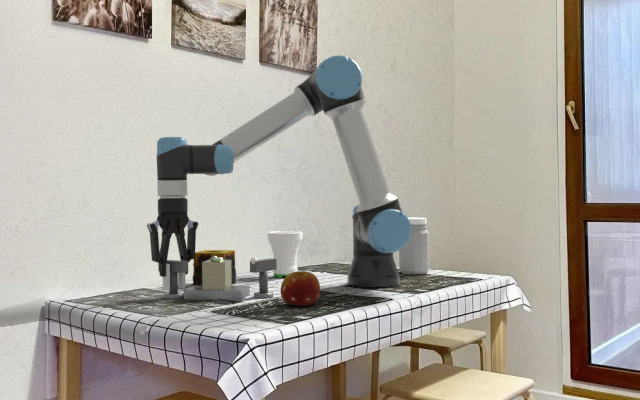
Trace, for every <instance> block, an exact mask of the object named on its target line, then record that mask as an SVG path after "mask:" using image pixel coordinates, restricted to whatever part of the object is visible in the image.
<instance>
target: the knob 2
mask: <svg viewBox="0 0 640 400" xmlns="http://www.w3.org/2000/svg"><path fill="white" fill-rule="evenodd" d="M273 270H276V259H274V258H271V257H269V258H263V259H258V258H257V257H256V256H255V257H253V256H252V258H250V261H249V273H255V274H257V273H258V281H259V282H258V291H255V292H253V298H255V299H272V298H273V297H274V292H272V291H269V275H268V274H269V273H268V272H269V271H270V272H271V271H273Z"/></svg>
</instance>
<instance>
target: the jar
mask: <svg viewBox="0 0 640 400" xmlns="http://www.w3.org/2000/svg"><path fill="white" fill-rule="evenodd" d="M407 218H408V219H409V221H410V223H411V229H412V231H411V237H410V239H409V241H408V243H407V244H406V245H405V246H404V247H403V248H402V249H401V250H399V251H398V270H399V271H400V273H401V274H402V275H403V274H405V275H425V274H427V273H428V271H429V270H430V232H429V231H428V230H427V228H428V226H426V225H427V224H428V221H427V220H428V219H427V218H426V217H407Z"/></svg>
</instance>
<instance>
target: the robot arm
mask: <svg viewBox="0 0 640 400" xmlns="http://www.w3.org/2000/svg"><path fill="white" fill-rule="evenodd" d="M362 84H363V73H362V70H361V68H360V66H359V64H358V63H357V62H356V61H355V60H353V59H352V58H350V57H348V56H346V55H342V54H341V55H332V56H330V57H328V58H325V59H324V60H322V61H321V62H320V63H319V65H318V66H317V67H316V69H315V70H313V72H312V73H311V74H310V75H309V76H308V77H307V78H306V79H305V80H303V82H302V83H299V84H298V85H297V86H295V87H294V91H293V93H291V94H289V95H288V96H286V97H284V98H283V99H282V100H280V101H278V102H277V103H275V104H273V105H272V106H270V107H269V108H267V109H265V110H264V111H263V112H261V113H259V114H258V115H257V116H255V117H253V118H252V119H250V120H248V121H246V123H244V124H242V125H241V126H239V127H237V128H236V129H235V130H232V132H230V133H228V134H226V135H225V136H224V137H222V138H220V139H219V140H217V141H215V142H214V143H212V144H200V145H199V144H197V145H196V144H188V142H187V139H186V138H185V137H182V136H165V137H164V136H163V137H160V138H158V139H157V142H156V175H157V187H156V188H157V196H158V197H159V198H158V200H157V213H158V214H157V217H156V220H155V221H154V222H151V223H150V222H149V223H147V224H146V227H147V230H148V232H149V242H150V243H149V244H150V253H151V254H150V255H151V261H152V262H154V263H157V264H158V263H159V271H158V272H159V276H160V277H162V289H163V290H165V291H169V290H170V264H166V263H167V260H168V258H169V256H168V255H169V249H170V244H171V243H170V242H171V238H172V235H173V234H174V235H175V238H176V243H177V249H178V254H179V259H180V260H179V261H188V263H190V262H191V260H194V258H195V252H196V245H197V244H196V239H197V230H198V229H197V228H198V226H199V222H198V221H194V220H191V219H190V218H189V216H188V211H189V210H188V209H189V208H188V207H189V206H188V199H187V196H188V175H207V176H211V177H212V176H217V175H224V174H225V175H226V174H227V175H228V174H232V173H233V171H234V163H235V162H237V161H239V160H241V159H242V158H243V157H245V156H246V155H248V154H250V153H251V152H254V151H255V150H256V149H257V148H260V147H261V146H262V145H264V144H266V143H267V142H268V141H270V140H271V139H273V138H275V137H277V136H278V135H280V134H281V133H283V132H284V131H286V130H287V129H289V128H291V127H293V126H294V125H295V124H297V123H299V122H300V121H302V120H303V119H304V118H307V117H308V116H311V117H314V116H316V115H317V114H319V113H321V112H322V111H323V114H324V115H325V116H327V117H328V118H330V119H331V120H332V123H333V126H334V130H335V133H336V135H337V138H338V141H339V144H340V148H341V150H342V153H343V156H344V159H345V162H346V165H347V168H348V172H349V174H350V177H351V180H352V183H353V187H354V191H355V193H356V195H357V198H358V202H359V204H358V205H355V206H354V207H353V209H352V216H351V217H352V244H353V245H352V247H353V248H352V250H353V252H352V255H353V256H352V260H351V264H350V267H349V271H348V273H347V285H349V286H353V287H359V288H362V287H363V288H385V287H387V288H388V287H389V288H390V287H395V286H398V285H400V280H401V279H400V274H399V271H398V270H399V269H398V267H397V265H396V261H395V259H394V253H396V252H399V250H401V249H402V248H403V247H404V246H405V245H406V244H407V243H408V241H409V239H410V237H411V231H412V229H411V223H410V221H409V219H408V218H409V217H408V216H407V215H406V213H404V212H403V211H402V208H401V204H400V201H399V198H398V196H397V195H394V194H392V193H391V192H390V189H389V186H388V183H387V180H386V177H385V173H384V170H383V168H382V165H381V161H380V158H379V155H378V152H377V150H376V146H375V142H374V141H373V137H372V134H371V131H370V128H369V125H368V122H367V119H366V116H365V112H364V109H363V108H364V105H365V104H366V103H365V102H366V101H367V100H366V97H365V93H364V91H363V87H362ZM159 227H160V229H161V241H160V237H159V231H158V230H159ZM186 227H187V237H185V236H186V233H185V228H186ZM186 238H187V241H186ZM188 274H189V271H188V272H185V273H178V288H180V289H187V288H186V275H188Z"/></svg>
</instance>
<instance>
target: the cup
mask: <svg viewBox="0 0 640 400" xmlns="http://www.w3.org/2000/svg"><path fill="white" fill-rule="evenodd" d="M303 235H304V234H303V231H296V230H275V231H268V232H267V241H268V242H269V244H270V247H271V250H272V255H273V259H276V270H272V271H273V276H274V277H275V278H279V279H283V278H284V276H285V277H286V276H287V275H288V274H290V273H293V272H297V271H298V265H297V262H298V260H297V259H298V252H299V249H300V245H301V242H302V241H303Z"/></svg>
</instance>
